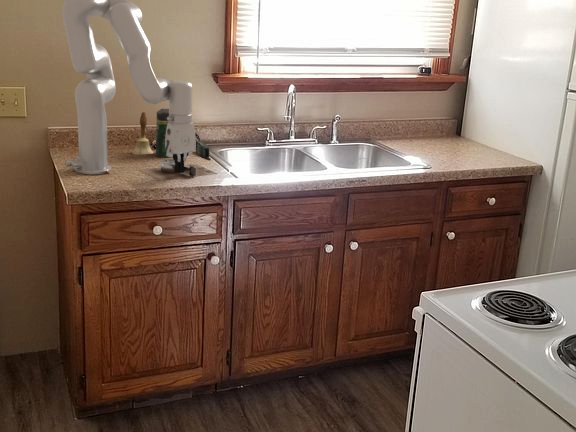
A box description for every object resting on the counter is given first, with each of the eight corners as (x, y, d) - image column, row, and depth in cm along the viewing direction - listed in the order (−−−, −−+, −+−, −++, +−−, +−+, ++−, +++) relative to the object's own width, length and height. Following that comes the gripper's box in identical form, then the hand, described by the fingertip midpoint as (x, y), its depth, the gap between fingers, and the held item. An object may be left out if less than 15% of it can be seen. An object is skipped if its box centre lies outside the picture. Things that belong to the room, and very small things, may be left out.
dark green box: (194, 140, 278) (205, 147, 265) (201, 140, 280) (212, 147, 266) (194, 152, 280) (204, 160, 267) (201, 152, 281) (212, 160, 268)
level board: (158, 184, 232) (158, 180, 231) (138, 173, 243) (138, 169, 242) (217, 177, 245) (218, 173, 245) (196, 167, 256) (196, 163, 256)
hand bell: (140, 149, 276) (140, 109, 271) (157, 153, 273) (158, 112, 268) (127, 153, 269) (127, 112, 264) (145, 156, 266) (145, 115, 261)
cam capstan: (156, 169, 243) (156, 160, 242) (170, 166, 248) (170, 157, 247) (188, 177, 236) (188, 168, 235) (201, 173, 241) (201, 165, 240)
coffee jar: (178, 160, 263) (179, 112, 258) (157, 160, 261) (157, 111, 255) (175, 154, 272) (176, 107, 266) (155, 154, 270) (155, 106, 264)
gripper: (169, 122, 225) (169, 177, 231) (204, 118, 236) (203, 171, 242) (155, 118, 230) (154, 172, 235) (190, 115, 240) (188, 166, 246)
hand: (179, 171), depth 238 cm, fingers closed
